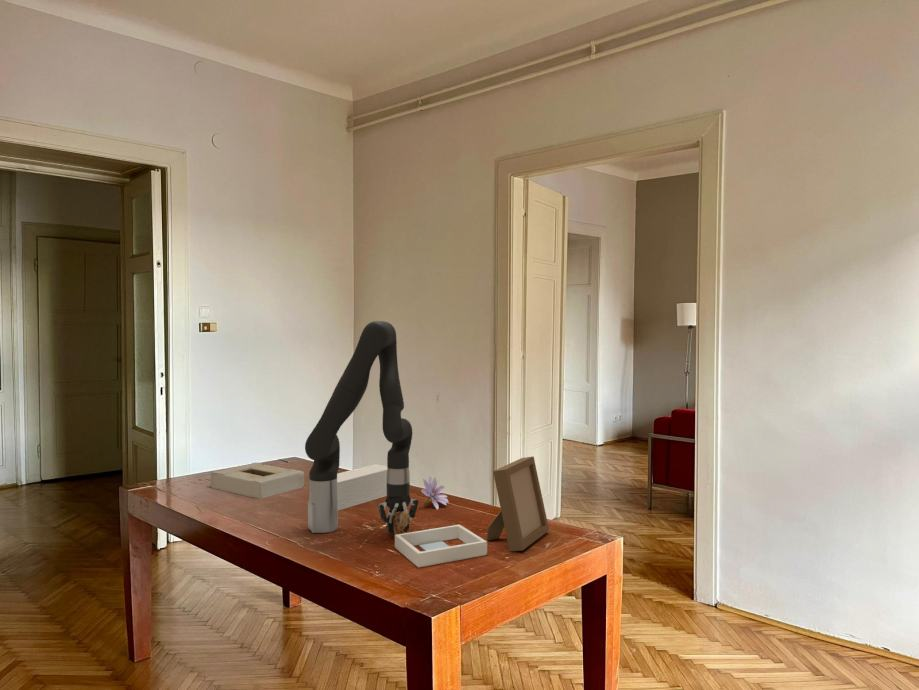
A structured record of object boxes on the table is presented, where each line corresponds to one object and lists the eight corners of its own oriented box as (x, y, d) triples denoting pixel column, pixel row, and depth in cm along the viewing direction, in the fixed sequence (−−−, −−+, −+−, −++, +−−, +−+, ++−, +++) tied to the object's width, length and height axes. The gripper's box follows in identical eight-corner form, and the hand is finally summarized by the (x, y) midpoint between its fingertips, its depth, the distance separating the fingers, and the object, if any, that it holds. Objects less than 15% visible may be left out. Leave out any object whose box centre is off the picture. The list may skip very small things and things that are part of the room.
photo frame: (549, 533, 220) (549, 458, 219) (522, 553, 201) (522, 471, 200) (508, 526, 227) (508, 453, 226) (478, 545, 208) (478, 466, 207)
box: (305, 487, 281) (254, 477, 298) (305, 469, 280) (254, 460, 298) (261, 501, 261) (210, 489, 279) (260, 482, 261) (209, 471, 279)
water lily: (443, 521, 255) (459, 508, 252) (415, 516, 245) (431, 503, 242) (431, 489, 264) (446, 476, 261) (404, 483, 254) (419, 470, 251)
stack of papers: (375, 489, 276) (375, 464, 276) (394, 494, 270) (394, 467, 269) (314, 507, 251) (314, 479, 251) (333, 512, 244) (333, 483, 244)
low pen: (418, 567, 190) (418, 553, 190) (394, 547, 206) (394, 534, 206) (487, 554, 200) (487, 541, 200) (459, 536, 216) (459, 524, 216)
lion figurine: (414, 539, 214) (414, 511, 214) (399, 542, 211) (399, 514, 211) (392, 527, 226) (392, 501, 226) (378, 529, 223) (378, 503, 223)
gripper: (381, 485, 210) (381, 539, 211) (422, 480, 217) (422, 532, 217) (373, 480, 217) (373, 532, 218) (413, 475, 223) (413, 526, 224)
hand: (398, 532), depth 217 cm, fingers closed on lion figurine, 4 cm apart
